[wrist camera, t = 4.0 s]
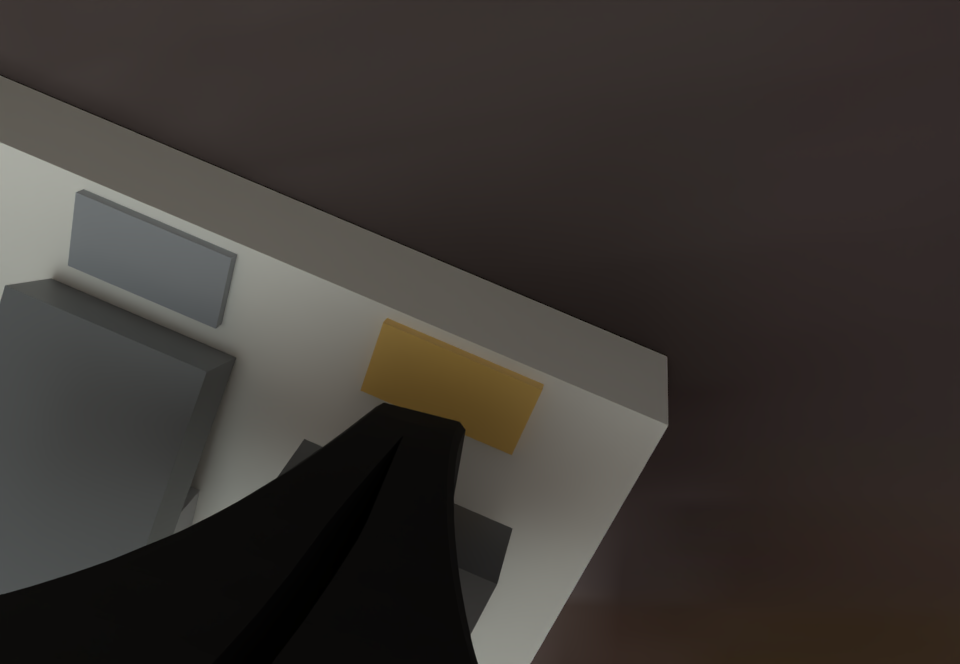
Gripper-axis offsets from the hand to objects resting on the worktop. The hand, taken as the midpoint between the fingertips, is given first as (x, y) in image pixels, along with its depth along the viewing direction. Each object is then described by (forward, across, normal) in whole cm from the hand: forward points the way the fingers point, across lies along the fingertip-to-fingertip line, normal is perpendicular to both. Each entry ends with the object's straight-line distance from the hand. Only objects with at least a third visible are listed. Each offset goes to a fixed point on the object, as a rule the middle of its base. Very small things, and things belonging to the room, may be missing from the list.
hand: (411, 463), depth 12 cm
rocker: (0, +6, +3) cm, 7 cm away
